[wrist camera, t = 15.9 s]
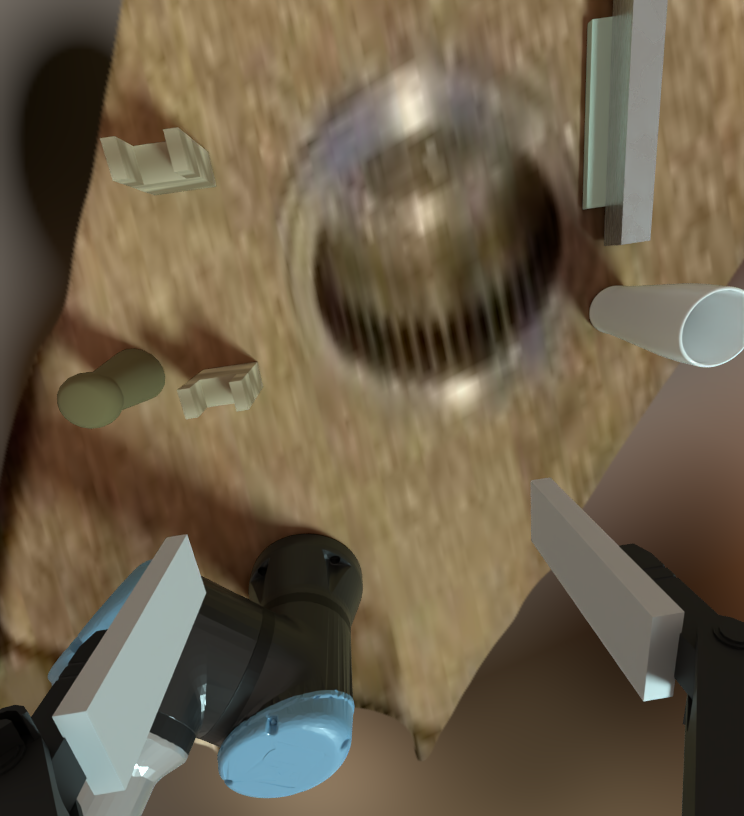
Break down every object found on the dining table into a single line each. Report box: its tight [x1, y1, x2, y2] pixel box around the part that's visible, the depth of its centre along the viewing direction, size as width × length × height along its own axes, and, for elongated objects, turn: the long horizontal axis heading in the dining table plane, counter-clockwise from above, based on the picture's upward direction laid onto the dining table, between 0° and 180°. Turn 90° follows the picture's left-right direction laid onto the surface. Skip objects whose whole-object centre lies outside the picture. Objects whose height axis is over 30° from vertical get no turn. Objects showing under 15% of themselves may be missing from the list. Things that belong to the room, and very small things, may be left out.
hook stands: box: [100, 127, 263, 419], centre depth 41 cm, size 24×6×8 cm, turn 8°
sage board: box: [583, 17, 613, 209], centre depth 42 cm, size 16×7×1 cm, turn 8°
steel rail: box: [604, 0, 667, 246], centre depth 40 cm, size 24×3×3 cm, turn 8°
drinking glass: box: [589, 283, 744, 367], centre depth 42 cm, size 7×7×15 cm
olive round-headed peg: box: [57, 349, 165, 429], centre depth 42 cm, size 6×6×11 cm
